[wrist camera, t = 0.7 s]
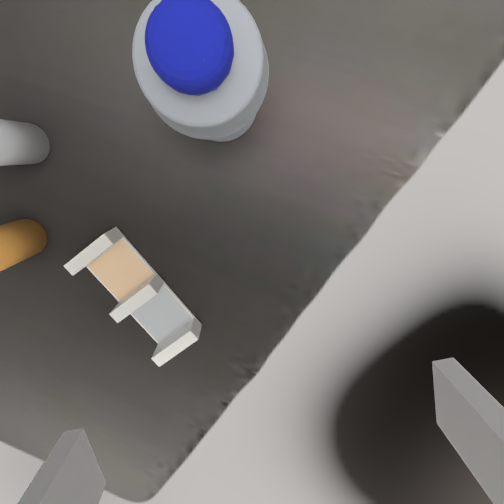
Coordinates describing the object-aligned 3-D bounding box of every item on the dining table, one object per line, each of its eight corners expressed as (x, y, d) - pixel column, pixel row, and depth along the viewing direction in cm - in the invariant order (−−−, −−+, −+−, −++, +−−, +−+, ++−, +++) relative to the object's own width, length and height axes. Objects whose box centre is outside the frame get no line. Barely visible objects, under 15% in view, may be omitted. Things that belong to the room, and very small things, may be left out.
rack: (78, 256, 35) (63, 266, 32) (116, 226, 35) (103, 233, 32) (165, 350, 38) (159, 367, 35) (202, 324, 38) (198, 339, 35)
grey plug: (1, 139, 32) (-76, 135, 25) (29, 114, 32) (-41, 101, 24) (30, 172, 33) (-35, 177, 25) (58, 147, 33) (-1, 145, 25)
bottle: (243, 156, 33) (238, 160, 14) (174, 127, 32) (68, 89, 13) (271, 83, 31) (311, -28, 12) (199, 51, 31) (120, -121, 11)
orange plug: (1, 233, 35) (-69, 256, 27) (27, 211, 34) (-37, 228, 26) (29, 261, 35) (-32, 291, 28) (54, 240, 35) (0, 265, 27)
